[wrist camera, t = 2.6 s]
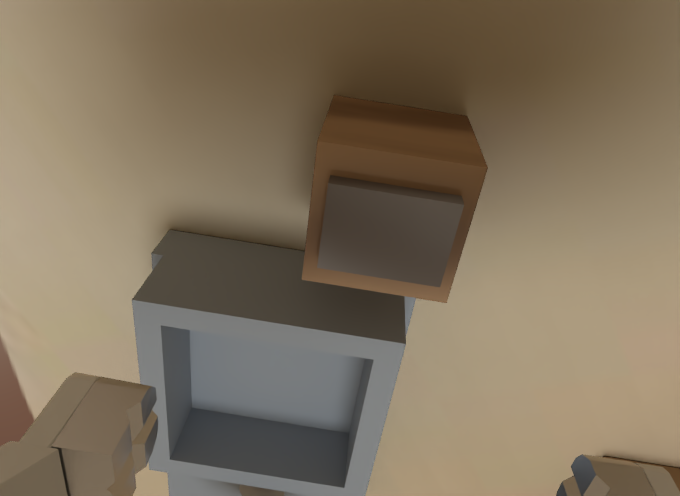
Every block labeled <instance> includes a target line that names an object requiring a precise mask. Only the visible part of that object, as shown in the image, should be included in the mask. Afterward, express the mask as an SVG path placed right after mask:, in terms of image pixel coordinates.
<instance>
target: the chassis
mask: <svg viewBox="0 0 680 496" xmlns="http://www.w3.org/2000/svg"><path fill="white" fill-rule="evenodd" d="M151 255H152V268H153V271H152V272H151V274H150V275H149V276H148V278H147V279H146V281H145V282H144V284H143V285H142V286H141V288H140V289H139V291H138V292H137V293H136V295H135V296H134V298H133V299H132V306H133V315H134V325H135V335H136V344H137V354H138V364H139V373H140V383H141V384H143V385H148V386H153V387H155V388H156V396H157V401H156V403H155V405H154V407H153V409H152V410H153V412H154V413H155V414H156V415H157V416H158V431H157V438H156V441H155V445H154V448H153V452H152V454H151V457H150V459H149V470H155V471H161V472H167V473H168V485H169V496H365V494H366V491H367V487H368V483H369V479H370V476H371V472H372V468H373V465H374V461H375V457H376V453H377V450H378V446H379V442H380V438H381V435H382V431H383V427H384V424H385V420H386V416H387V412H388V409H389V405H390V401H391V398H392V394H393V390H394V386H395V383H396V379H397V375H398V371H399V368H400V364H401V360H402V357H403V353H404V349H405V345H406V334H407V330H408V326H409V322H410V319H411V315H412V311H413V307H414V304H415V300H416V298H413V297H406V296H400V295H394V294H388V293H381V292H375V291H369V290H363V289H357V288H350V287H344V286H338V285H332V284H325V283H319V282H313V281H307V280H302V272H303V263H304V255H305V251H299V250H293V249H287V248H281V247H274V246H268V245H262V244H256V243H249V242H243V241H237V240H231V239H225V238H218V237H212V236H206V235H200V234H193V233H187V232H181V231H175V230H169V231H168V232H167V234H166V235H165V236H164V237H163V239H162V240H161V241H160V243H159V244H158V245H157V247H156V248H155V249H154V251H153V252H152V253H151Z"/></svg>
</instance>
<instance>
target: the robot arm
mask: <svg viewBox="0 0 680 496" xmlns="http://www.w3.org/2000/svg"><path fill="white" fill-rule="evenodd" d="M156 401H157V396H156V388H155V387H153V386H148V385H143V384H138V383H132V382H127V381H122V380H116V379H111V378H105V377H99V376H93V375H87V374H82V373H76V372H75V373H74V374H72V375H71V376H69V377H68V378H66V380H65V381H64V382H63V384H62V385H61V386H60V388H59V389H58V390H57V392H56V393H55V394H54V396H53V397H52V398H51V400H50V401H49V402H48V404H47V405H46V406H45V408H44V409H43V410H42V412H41V413H40V414H39V416H38V417H37V418H36V420H35V421H34V422H33V424H32V425H31V426H30V428H29V429H28V430H27V432H26V433H25V434H24V435H23V437H22V438H21V440H20V441H19V442H12V441H9V442H8V443H6V444H4V445H2V446H0V496H133V493H134V491H135V489H136V481H135V474H136V473H137V472H139V471H140V470H142V469H143V468H145V467H146V466H147V463H148V461H149V459H150V457H151V454H152V452H153V448H154V445H155V441H156V438H157V431H158V416H157V415H156V414H155V413H154V412H153V410H152V409H153V407H154V405H155V403H156ZM571 468H572V471H573V474H574V476H572V477H570V478H568V479H566V480H564V481H562V483H561V485H560V487H559V489H558V491H557V495H556V496H680V491H679V490H678V488H677V486H676V484H675V482H674V480H673V479H672V477H671V475H670V473H669V472H668V471H667V470H666V469H664V468H663V467H660V466H654V465H647V464H641V463H633V462H630V461H624V460H617V459H610V458H603V457H596V456H590V455H583V454H582V455H580V456H578V457H577V458H576V459H575V460H574V462H573V464H572V465H571Z"/></svg>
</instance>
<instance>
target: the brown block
mask: <svg viewBox="0 0 680 496" xmlns="http://www.w3.org/2000/svg"><path fill="white" fill-rule="evenodd" d="M487 169H488V167H487V165H486V162H485V160H484V157H483V155H482V152H481V149H480V147H479V144H478V142H477V139H476V137H475V134H474V132H473V129H472V127H471V124H470V122H469V119H468V117H467V116H463V115H457V114H451V113H444V112H438V111H432V110H426V109H419V108H413V107H407V106H400V105H394V104H388V103H381V102H375V101H369V100H362V99H356V98H350V97H343V96H337V95H334V97H333V100H332V102H331V105H330V108H329V111H328V113H327V116H326V119H325V121H324V124H323V127H322V130H321V132H320V135H319V138H318V141H317V149H316V158H315V167H314V175H313V184H312V193H311V202H310V211H309V219H308V228H307V237H306V246H305V255H304V263H303V272H302V280H307V281H313V282H319V283H325V284H332V285H338V286H344V287H350V288H357V289H363V290H369V291H375V292H381V293H388V294H394V295H400V296H406V297H413V298H419V299H425V300H431V301H437V302H444V303H447V299H448V296H449V293H450V290H451V286H452V283H453V280H454V276H455V273H456V270H457V267H458V263H459V260H460V257H461V254H462V250H463V247H464V244H465V241H466V237H467V234H468V231H469V228H470V224H471V221H472V218H473V214H474V211H475V208H476V205H477V201H478V198H479V195H480V192H481V188H482V185H483V182H484V179H485V175H486V172H487Z"/></svg>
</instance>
